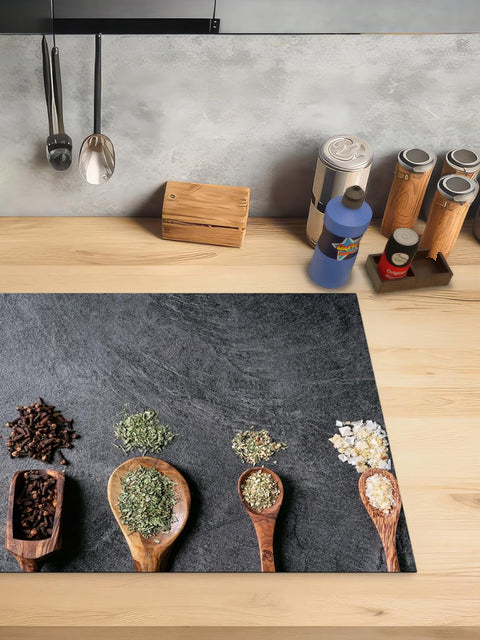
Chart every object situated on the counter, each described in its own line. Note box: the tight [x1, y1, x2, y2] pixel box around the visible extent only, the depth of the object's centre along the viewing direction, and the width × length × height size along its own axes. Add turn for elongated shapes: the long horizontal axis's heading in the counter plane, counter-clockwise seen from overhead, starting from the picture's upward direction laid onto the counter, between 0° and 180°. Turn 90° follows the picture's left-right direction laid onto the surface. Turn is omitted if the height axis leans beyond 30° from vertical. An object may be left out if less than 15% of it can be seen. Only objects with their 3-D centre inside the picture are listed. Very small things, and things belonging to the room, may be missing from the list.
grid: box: [364, 247, 454, 294], centre depth 164 cm, size 16×9×4 cm, turn 98°
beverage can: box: [377, 227, 420, 280], centre depth 160 cm, size 6×6×12 cm
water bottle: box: [308, 184, 373, 290], centre depth 156 cm, size 9×9×25 cm
